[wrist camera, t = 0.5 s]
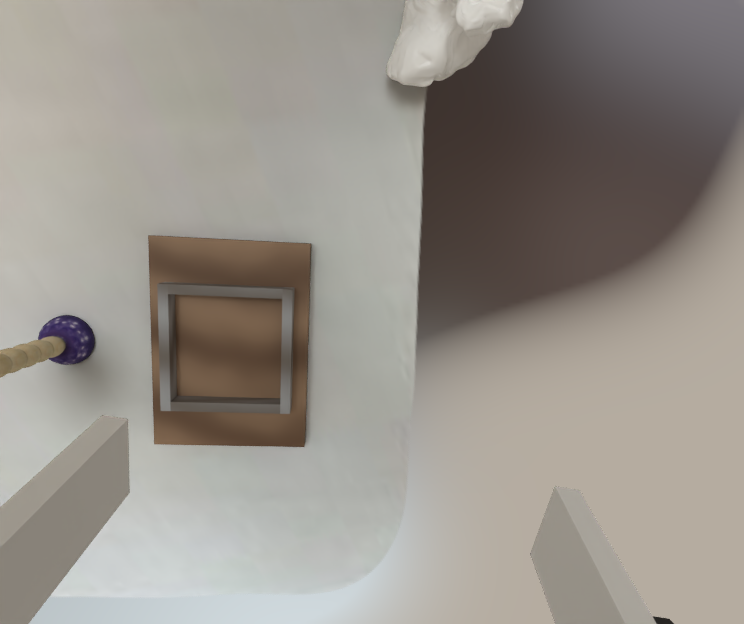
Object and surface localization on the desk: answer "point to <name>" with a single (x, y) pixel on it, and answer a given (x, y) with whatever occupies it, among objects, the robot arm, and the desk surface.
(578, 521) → the robot arm
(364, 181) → the desk surface
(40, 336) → the toy lamp
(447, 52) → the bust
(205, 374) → the plate
